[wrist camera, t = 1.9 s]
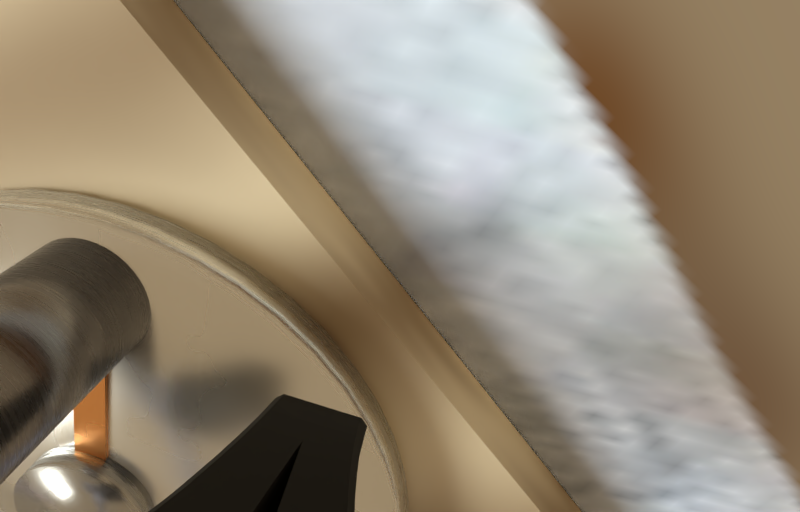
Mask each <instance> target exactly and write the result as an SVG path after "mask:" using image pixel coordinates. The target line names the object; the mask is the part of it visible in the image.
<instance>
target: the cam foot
mask: <svg viewBox="0 0 800 512" xmlns="http://www.w3.org/2000/svg"><path fill="white" fill-rule="evenodd" d="M283 394H286V395H289V396H292V397H295V398H299V399H302V400H305V401H308V402H312V403H315V404H318V405H321V406H325V407H328V408H331V409H334V410H338V411H341V412H344V413H347V414H351V415H354V416H357V417H360V418H362V419H363V421H364V422H365V424H366V425H367V429H366V433H365V437H364V441H363V444H362V448H361V452H360V456H359V463H358V471H357V481H356V493H355V512H408V510H409V499H408V492H407V485H406V478H405V471H404V467H403V464H402V460H401V457H400V454H399V451H398V447H397V444H396V441H395V437H394V435H393V433H392V431H391V428H390V426H389V424H388V422H387V420H386V418H385V416H384V414H383V411H382V409H381V407H380V405H379V403H378V401H377V399H376V398H375V396H374V395H373V393H372V392H371V390H370V388H369V387H368V385H367V384H366V382H365V381H364V379H363V377H362V376H361V374H360V373H359V371H358V370H357V368H356V367H355V365H354V364H353V363H352V362H351V360H350V359H349V358H348V357H347V355H346V354H345V353H344V352H343V351H342V349H341V348H340V347H339V346H338V345H337V343H336V342H335V341H334V340H333V339H332V337H331V336H330V335H329V334H328V332H327V331H326V330H325V329H324V328H323V327H322V326H321V325H320V324H319V323H318V322H316V321H315V320H314V319H313V318H312V317H311V316H310V315H309V314H308V313H307V312H306V311H305V310H304V309H303V308H302V307H301V306H300V305H299V304H298V303H297V302H296V301H295V300H294V299H293V298H292V297H290V296H289V295H288V294H286V293H285V292H284V291H283V290H281V289H280V288H279V287H277V286H276V285H275V284H274V283H272V282H271V281H270V280H268V279H267V278H266V277H265V276H263V275H262V274H261V273H259V272H258V271H257V270H256V269H254V268H253V267H251V266H250V265H248V264H246V263H245V262H243V261H242V260H240V259H238V258H237V257H235V256H234V255H232V254H230V253H229V252H227V251H226V250H224V249H222V248H221V247H219V246H218V245H216V244H214V243H213V242H211V241H209V240H207V239H205V238H203V237H201V236H199V235H197V234H195V233H192V232H190V231H188V230H186V229H184V228H182V227H180V226H178V225H176V224H174V223H172V222H170V221H168V220H165V219H162V218H160V217H157V216H154V215H151V214H148V213H146V212H143V211H140V210H137V209H134V208H132V207H129V206H126V205H123V204H120V203H115V202H111V201H107V200H102V199H98V198H94V197H89V196H85V195H81V194H76V193H67V192H57V191H47V190H37V189H23V190H0V512H148V511H150V510H151V509H152V508H154V507H155V506H156V505H157V504H159V503H160V502H161V501H163V500H164V499H165V498H167V497H168V496H169V495H170V494H172V493H173V492H174V491H175V490H176V489H178V488H179V487H180V486H181V485H182V484H184V483H185V482H186V481H187V480H188V479H189V478H191V477H192V476H193V475H194V474H195V473H196V472H198V471H199V470H200V469H201V468H202V467H204V466H205V465H206V464H207V463H208V462H209V461H211V460H212V459H213V458H214V457H215V456H216V455H218V454H219V453H220V452H221V451H222V450H223V449H224V448H225V447H226V446H227V445H228V444H230V443H231V442H232V441H233V440H234V439H235V438H236V437H237V436H238V435H239V434H240V433H241V432H242V431H243V430H245V429H246V428H247V427H248V426H249V425H250V424H251V423H252V422H253V421H254V420H255V419H256V418H257V417H258V416H259V415H260V414H261V413H262V412H263V411H264V410H265V409H266V408H267V406H268V405H269V404H270V403H271V402H272V401H273V400H274V399H275V398H276V397H278V396H280V395H283Z"/></svg>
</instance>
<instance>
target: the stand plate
mask: <svg viewBox="0 0 800 512" xmlns="http://www.w3.org/2000/svg"><path fill="white" fill-rule="evenodd" d="M23 189H37V190H47V191H57V192H67V193H76V194H81V195H85V196H89V197H94V198H98V199H102V200H107V201H111V202H115V203H120V204H123V205H126V206H129V207H132V208H134V209H137V210H140V211H143V212H146V213H148V214H151V215H154V216H157V217H160V218H162V219H165V220H168V221H170V222H172V223H174V224H176V225H178V226H180V227H182V228H184V229H186V230H188V231H190V232H192V233H195V234H197V235H199V236H201V237H203V238H205V239H207V240H209V241H211V242H213V243H214V244H216V245H218V246H219V247H221V248H222V249H224V250H226V251H227V252H229V253H230V254H232V255H234V256H235V257H237V258H238V259H240V260H242V261H243V262H245V263H246V264H248V265H250V266H251V267H253V268H254V269H256V270H257V271H258V272H259V273H261V274H262V275H263V276H265V277H266V278H267V279H268V280H270V281H271V282H272V283H274V284H275V285H276V286H277V287H279V288H280V289H281V290H283V291H284V292H285V293H286V294H288V295H289V296H290V297H292V298H293V299H294V300H295V301H296V302H297V303H298V304H299V305H300V306H301V307H302V308H303V309H304V310H305V311H306V312H307V313H308V314H309V315H310V316H311V317H312V318H313V319H314V320H315V321H316V322H318V323H319V324H320V325H321V326H322V327H323V328H324V329H325V330H326V331H327V332H328V334H329V335H330V336H331V337H332V339H333V340H334V341H335V342H336V343H337V345H338V346H339V347H340V348H341V349H342V351H343V352H344V353H345V354H346V355H347V357H348V358H349V359H350V360H351V362H352V363H353V364H354V365H355V367H356V368H357V370H358V371H359V373H360V374H361V376H362V377H363V379H364V381H365V382H366V384H367V385H368V387H369V388H370V390H371V392H372V393H373V395H374V396H375V398H376V399H377V401H378V403H379V405H380V407H381V409H382V411H383V414H384V416H385V418H386V420H387V422H388V424H389V426H390V428H391V431H392V433H393V435H394V437H395V441H396V444H397V447H398V451H399V454H400V457H401V460H402V464H403V467H404V471H405V478H406V485H407V492H408V499H409V510H408V512H582V511H581V510H580V509H579V508H578V506H577V505H576V504H575V503H574V501H573V500H572V499H571V498H570V496H569V495H568V494H567V493H566V491H565V490H564V489H563V488H562V486H561V485H560V484H559V483H558V481H557V480H556V479H555V478H554V476H553V475H552V474H551V473H550V471H549V470H548V469H547V468H546V466H545V465H544V464H543V463H542V461H541V460H540V459H539V458H538V456H537V455H536V454H535V453H534V451H533V450H532V449H531V448H530V446H529V445H528V444H527V443H526V441H525V440H524V439H523V438H522V436H521V435H520V434H519V433H518V431H517V430H516V429H515V427H514V426H513V425H512V424H511V422H510V421H509V420H508V419H507V417H506V416H505V415H504V414H503V412H502V411H501V410H500V409H499V407H498V406H497V405H496V404H495V402H494V401H493V400H492V399H491V397H490V396H489V395H488V394H487V392H486V391H485V390H484V389H483V387H482V386H481V385H480V384H479V382H478V381H477V380H476V379H475V377H474V376H473V375H472V374H471V372H470V371H469V370H468V369H467V367H466V366H465V365H464V364H463V362H462V361H461V360H460V359H459V357H458V356H457V355H456V354H455V352H454V351H453V350H452V349H451V347H450V346H449V345H448V344H447V342H446V341H445V340H444V339H443V337H442V336H441V335H440V334H439V332H438V331H437V330H436V329H435V327H434V326H433V325H432V324H431V322H430V321H429V320H428V319H427V317H426V316H425V315H424V314H423V312H422V311H421V310H420V309H419V307H418V306H417V305H416V304H415V302H414V301H413V300H412V299H411V297H410V296H409V295H408V294H407V292H406V291H405V290H404V289H403V287H402V286H401V285H400V284H399V282H398V281H397V280H396V279H395V277H394V276H393V275H392V274H391V272H390V271H389V270H388V269H387V267H386V266H385V265H384V264H383V262H382V261H381V260H380V259H379V257H378V256H377V255H376V254H375V252H374V251H373V250H372V249H371V247H370V246H369V245H368V244H367V242H366V241H365V240H364V239H363V237H362V236H361V235H360V234H359V232H358V231H357V230H356V229H355V227H354V226H353V225H352V224H351V222H350V221H349V220H348V219H347V217H346V216H345V215H344V214H343V212H342V211H341V210H340V209H339V207H338V206H337V205H336V203H335V202H334V201H333V200H332V198H331V197H330V196H329V195H328V193H327V192H326V191H325V190H324V188H323V187H322V186H321V185H320V183H319V182H318V181H317V180H316V178H315V177H314V176H313V175H312V173H311V172H310V171H309V170H308V168H307V167H306V166H305V165H304V163H303V162H302V161H301V160H300V158H299V157H298V156H297V155H296V153H295V152H294V151H293V150H292V148H291V147H290V146H289V145H288V143H287V142H286V141H285V140H284V138H283V137H282V136H281V135H280V133H279V132H278V131H277V130H276V128H275V127H274V126H273V125H272V123H271V122H270V121H269V120H268V118H267V117H266V116H265V115H264V113H263V112H262V111H261V110H260V108H259V107H258V106H257V105H256V103H255V102H254V101H253V100H252V98H251V97H250V96H249V95H248V93H247V92H246V91H245V90H244V88H243V87H242V86H241V85H240V83H239V82H238V81H237V80H236V78H235V77H234V76H233V75H232V73H231V72H230V71H229V70H228V68H227V67H226V66H225V65H224V63H223V62H222V61H221V60H220V58H219V57H218V56H217V55H216V53H215V52H214V51H213V50H212V48H211V47H210V46H209V45H208V43H207V42H206V41H205V40H204V38H203V37H202V36H201V35H200V33H199V32H198V31H197V30H196V28H195V27H194V26H193V25H192V23H191V22H190V21H189V20H188V18H187V17H186V16H185V15H184V13H183V12H182V11H181V10H180V8H179V7H178V6H177V5H176V3H175V2H174V1H173V0H0V190H23Z"/></svg>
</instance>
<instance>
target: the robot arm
mask: <svg viewBox="0 0 800 512" xmlns="http://www.w3.org/2000/svg"><path fill="white" fill-rule="evenodd" d="M366 429H367V425H366V424H365V422H364V421H363V419H362V418H360V417H357V416H354V415H351V414H347V413H344V412H341V411H338V410H334V409H331V408H328V407H325V406H321V405H318V404H315V403H312V402H308V401H305V400H302V399H299V398H295V397H292V396H289V395H286V394H283V395H280V396H278V397H276V398H275V399H274V400H273V401H272V402H271V403H270V404H269V405H268V406H267V408H266V409H265V410H264V411H263V412H262V413H261V414H260V415H259V416H258V417H257V418H256V419H255V420H254V421H253V422H252V423H251V424H250V425H249V426H248V427H247V428H246V429H245V430H243V431H242V432H241V433H240V434H239V435H238V436H237V437H236V438H235V439H234V440H233V441H232V442H231V443H230V444H228V445H227V446H226V447H225V448H224V449H223V450H222V451H221V452H220V453H219V454H218V455H216V456H215V457H214V458H213V459H212V460H211V461H209V462H208V463H207V464H206V465H205V466H204V467H202V468H201V469H200V470H199V471H198V472H196V473H195V474H194V475H193V476H192V477H191V478H189V479H188V480H187V481H186V482H185V483H184V484H182V485H181V486H180V487H179V488H178V489H176V490H175V491H174V492H173V493H172V494H170V495H169V496H168V497H167V498H165V499H164V500H163V501H161V502H160V503H159V504H157V505H156V506H155V507H154V508H152V509H151V510H150V511H148V512H355V493H356V481H357V471H358V463H359V456H360V452H361V448H362V444H363V441H364V437H365V433H366Z"/></svg>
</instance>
